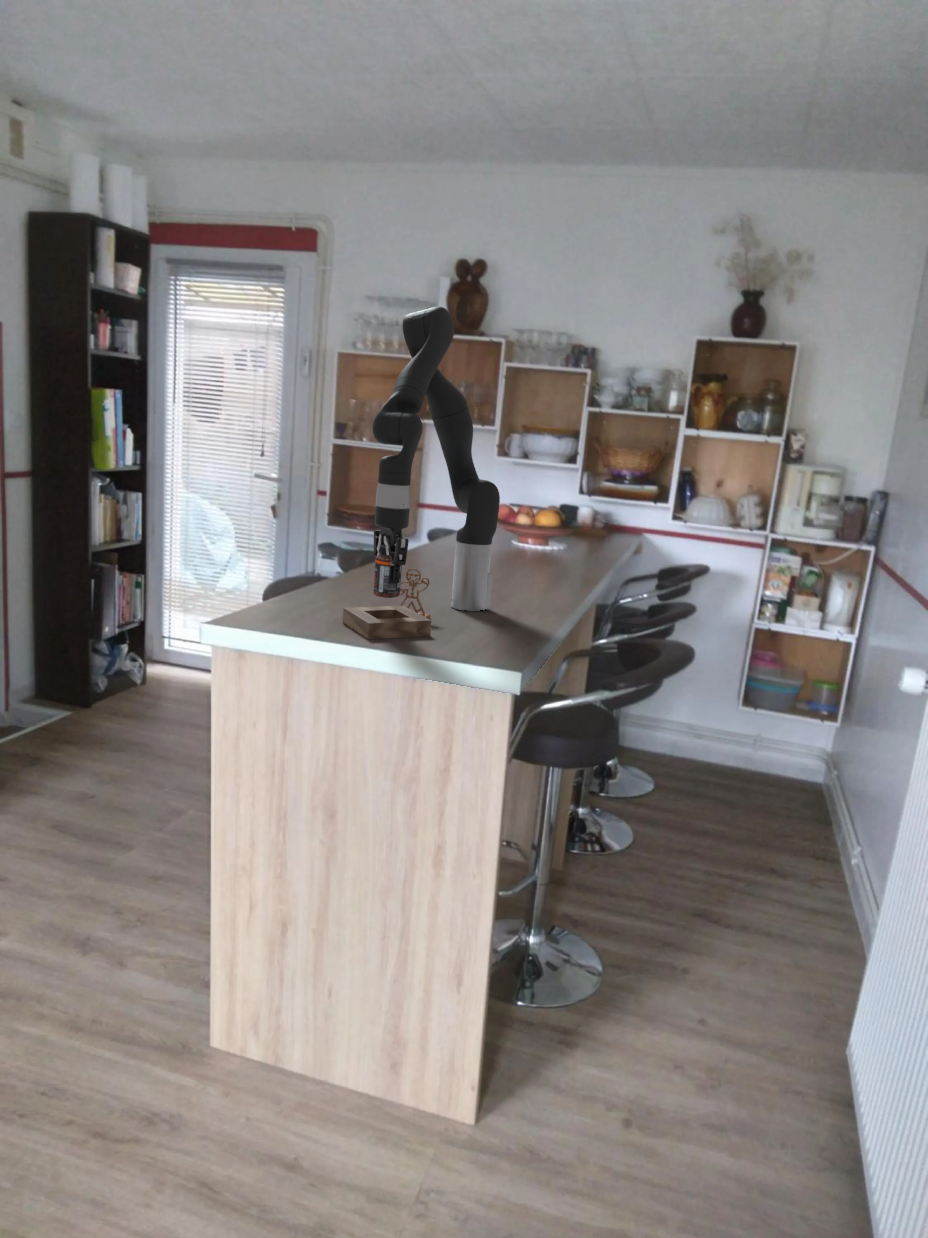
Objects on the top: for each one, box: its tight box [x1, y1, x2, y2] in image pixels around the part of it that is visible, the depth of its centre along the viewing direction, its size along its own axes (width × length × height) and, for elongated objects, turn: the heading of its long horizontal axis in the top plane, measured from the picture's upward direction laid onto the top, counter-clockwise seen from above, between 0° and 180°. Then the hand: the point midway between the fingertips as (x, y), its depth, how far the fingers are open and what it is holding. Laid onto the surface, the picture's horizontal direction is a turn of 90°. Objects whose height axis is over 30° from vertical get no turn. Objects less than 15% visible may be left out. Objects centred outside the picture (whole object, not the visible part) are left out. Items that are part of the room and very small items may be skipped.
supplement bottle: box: [373, 545, 403, 599], centre depth 192 cm, size 6×6×11 cm
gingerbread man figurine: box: [399, 567, 431, 620], centre depth 207 cm, size 9×4×12 cm, turn 73°
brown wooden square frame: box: [342, 605, 432, 640], centre depth 194 cm, size 15×15×4 cm
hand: (387, 579), depth 192 cm, fingers closed on supplement bottle, 6 cm apart
